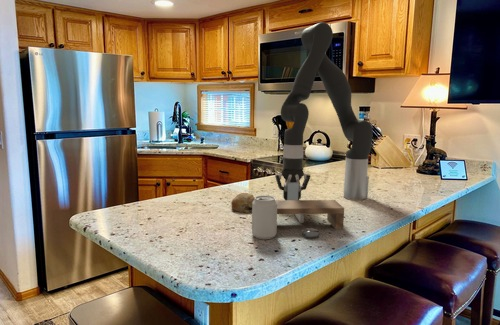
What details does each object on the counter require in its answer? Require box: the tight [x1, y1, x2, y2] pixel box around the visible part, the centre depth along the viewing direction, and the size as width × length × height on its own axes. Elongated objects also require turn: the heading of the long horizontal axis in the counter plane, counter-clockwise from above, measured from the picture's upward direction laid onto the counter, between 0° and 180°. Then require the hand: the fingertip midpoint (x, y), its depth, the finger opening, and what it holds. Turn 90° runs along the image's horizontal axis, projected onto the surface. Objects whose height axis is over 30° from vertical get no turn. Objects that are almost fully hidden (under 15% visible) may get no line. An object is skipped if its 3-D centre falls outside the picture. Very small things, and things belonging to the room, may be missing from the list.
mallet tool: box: [287, 182, 305, 224], centre depth 134 cm, size 4×21×10 cm, turn 4°
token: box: [301, 227, 320, 240], centre depth 112 cm, size 5×5×2 cm
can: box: [251, 194, 278, 240], centre depth 110 cm, size 8×8×12 cm
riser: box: [275, 199, 345, 230], centre depth 121 cm, size 24×10×7 cm, turn 94°
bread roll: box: [230, 192, 256, 213], centre depth 139 cm, size 10×10×8 cm
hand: (291, 200), depth 142 cm, fingers closed on mallet tool, 4 cm apart
